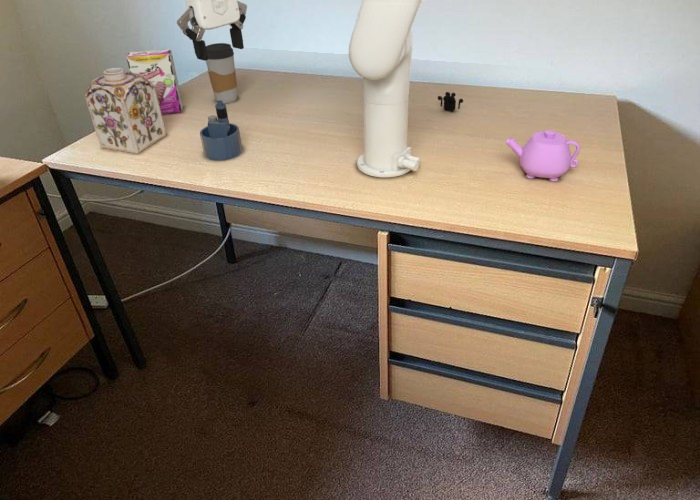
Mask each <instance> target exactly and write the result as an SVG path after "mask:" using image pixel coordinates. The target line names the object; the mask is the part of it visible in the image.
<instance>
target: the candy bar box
mask: <svg viewBox="0 0 700 500" xmlns="http://www.w3.org/2000/svg"><path fill="white" fill-rule="evenodd" d="M125 58H126V62H127V65H128V69H129V72H132V73H139V74H141V75H142V76H143V77H144V78H146V79H147V80H148V81H150V82H151V83H152V84H153V85H154V87H155V91H156V95H157V98H158V102H159V106H160V110H161V114H162V115H169V114H179V113H180V114H181V113H183V109H184V104H183V99H182V93H181V89H180V86H179V81H178V75H177V72H176V66H175V62H174V56H173V52H172V49H171V48H168V49H167V48H166V49H164V48H163V49H153V50H152V49H151V50H138V51H137V50H136V51H129V52H128V54H127V55H126V57H125Z"/></svg>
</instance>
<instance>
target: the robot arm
mask: <svg viewBox="0 0 700 500" xmlns="http://www.w3.org/2000/svg"><path fill="white" fill-rule="evenodd" d="M425 2H426V0H362V1H361V4H360V8H359V10H358V14H357V17H356V20H355V24H354V27H353V31H352V34H351V36H350V40H349V45H348V58H349V62H350V65H351V67H352V68H353V70H354V71H355V73H356V74H357V75H358V76H359V77H361V78H362V126H363V128H362V129H363V153H362V154H361V155H359V156H358V158H357V160H356V165H357V166H356V167H357V169H358V170H359V171H360V172H361V173H363V174H365V175H367V176H370V177H375V178H396V177H401V176H403V175H405V174H407V173H409V172H410V171H413V172H417V171H418V170H419V169H420V164H421V160H422V159H421V157H418V156H414V155H413V154H412V147H411V146H408V143H409V142H408V138H409V101H410V100H409V99H410V80H411V79H410V78H411V66H412V56H413V45H414V43H413V42H414V41H413V39H414V38H413V32H412V27H413V24H414V21H415V18H416V16H417V14H418V12H419V9H420V8H421V7H422V5H424V3H425ZM185 5H186V10H185V11H184V13H183V14H182V15H181V16H180V17H179V18H178V19H177V20H176V25H177V26H178V27H179V29H180V30H181V31H182V33H183V35H185V36H186V37H187V38H188V39H189V40H191V41H192V45H193V51H194V54H195V56H196V59H197V60H201V61H204V62H206V60H208V54H207V50H206V46H207V45H206V41H205V40H204V39H203V37H204V34H205V31H206V30H207V31H209V30H214V29H218V28H221V27H222V28H223V27H225V26H228V25H229V26H230V28H229V36H230V40H231V47H232V48H233V49H239V50H243V49H245V45H244V39H243V33H242V32H243V31H242V30H243V29H244V23H245V22H246V18H247V10H248V5H247V3H244V2H241V1H239V0H185ZM188 23H189V24H190V26H191V28H190V26H189V25H188Z"/></svg>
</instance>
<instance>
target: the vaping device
mask: <svg viewBox="0 0 700 500" xmlns="http://www.w3.org/2000/svg"><path fill="white" fill-rule="evenodd" d="M226 104H227V103H222V100H219V101H217V100H216V104H215V112H216V115H215V114H213V115H209V116H207V126H208V130H209V135H210V138H220V137H225V136H229V135H231V133H230V124H229V123H230V119H229V115H228V109H227V105H226Z"/></svg>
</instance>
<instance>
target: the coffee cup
mask: <svg viewBox="0 0 700 500" xmlns="http://www.w3.org/2000/svg"><path fill="white" fill-rule="evenodd" d="M206 50H207V54H208V60H206V61H205V64H206V67H207V68H206V69H207V71H208V72H207V73H208V78H209V80H210V84H211V88H212V92H213V95H214V100H216V102H217V101H219V100H222V103H224V104H229V103H233V102H235V101H237V100H238V85H237V74H236V65H235V58H234V57H235V52H234V48H233V47H232V44H230V43H227V42H218V43H211V44H207V45H206Z"/></svg>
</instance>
